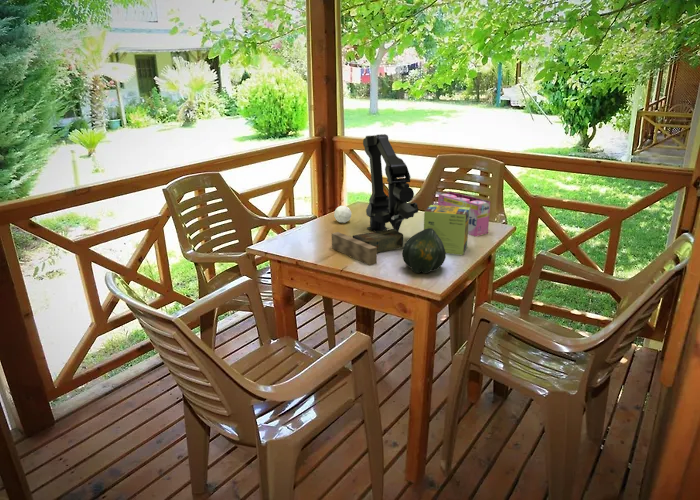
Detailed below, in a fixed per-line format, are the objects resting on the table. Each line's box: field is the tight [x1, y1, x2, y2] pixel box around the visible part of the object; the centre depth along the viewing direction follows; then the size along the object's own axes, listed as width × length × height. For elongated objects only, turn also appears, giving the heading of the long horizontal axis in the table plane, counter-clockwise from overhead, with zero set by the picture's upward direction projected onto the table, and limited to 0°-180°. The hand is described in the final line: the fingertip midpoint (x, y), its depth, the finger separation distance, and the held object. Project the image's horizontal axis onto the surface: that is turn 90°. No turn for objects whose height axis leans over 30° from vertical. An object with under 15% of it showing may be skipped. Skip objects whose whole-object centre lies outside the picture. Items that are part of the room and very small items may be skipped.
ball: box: [333, 205, 352, 224], centre depth 223 cm, size 8×8×8 cm
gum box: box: [437, 191, 491, 237], centre depth 211 cm, size 24×8×14 cm, turn 36°
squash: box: [401, 228, 447, 274], centre depth 169 cm, size 14×15×15 cm
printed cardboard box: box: [351, 228, 404, 254], centre depth 188 cm, size 8×19×6 cm, turn 117°
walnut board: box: [331, 231, 378, 266], centre depth 183 cm, size 23×3×6 cm, turn 37°
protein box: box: [423, 204, 470, 256], centre depth 187 cm, size 10×15×16 cm
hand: (396, 233), depth 195 cm, fingers closed
